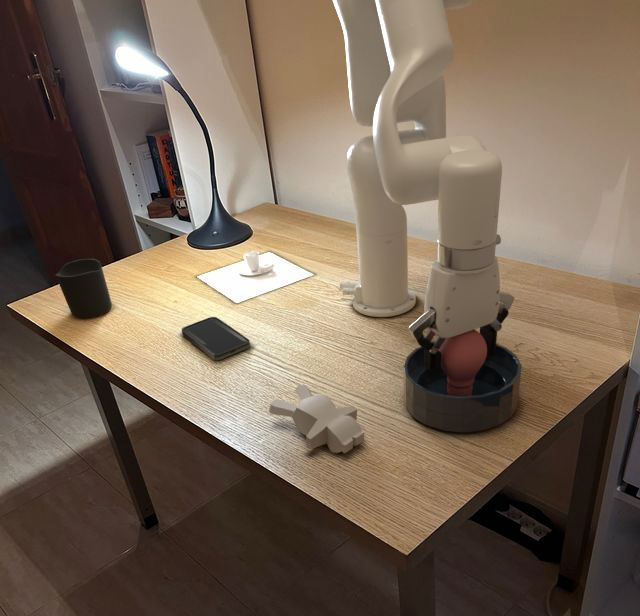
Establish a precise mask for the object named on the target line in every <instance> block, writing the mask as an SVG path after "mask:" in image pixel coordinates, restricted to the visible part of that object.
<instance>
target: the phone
mask: <svg viewBox="0 0 640 616" xmlns="http://www.w3.org/2000/svg"><path fill="white" fill-rule="evenodd" d="M181 334H182V336H183V337H184V338H185V339H187V341H189V342H190V343H192V344H193V345H194V346H196V348H198V349H199V350H200V351H201V352H203V353H204V354H205V355H207V356H208V357H209V358H210V359H212V360H213V361H221V360H224V359H227V358H229V357H231V356H233V355H236V354H239V353H240V352H243V351H245V350H247V349H249V348H251V342H250V339H249V338H248V337H246V336H245V335H243V334H242V333H240V332H239V331H237V330H236V329H234V328H233V327H231V326H230V325H228V324H227V323H226V322H224V321H223V320H221V319H220V318H218V317H216V316H209V317H207V318H204V319H202V320H199V321H197V322H194V323H191V324H189V325H186V326H183V327H182V328H181Z"/></svg>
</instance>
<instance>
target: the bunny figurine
mask: <svg viewBox="0 0 640 616" xmlns="http://www.w3.org/2000/svg"><path fill="white" fill-rule="evenodd" d="M294 390H295V391H294V392H295V394H296V395H297V396H298V398H299V399H300V402H299V404H298V405H296V404H294V403H291V402H288V401H285V400H282V399H274V400H271V402H270V403H269V408H268V412H269V414H271V415H276V416H282V417H289V418H292V420H293V423H294V424H295V427H296V428H297V430H298V431H299V433H301V434H302V435H304V436H305V438H306V440H305V441H306V442H305V443H306V448H307V449H310V450H312V449H315V448H318V447H320V446H324V445H327V447H328V449H329V451H330V452H332V453H335V454H339V453H341V452H342V453H343V454H347V453H348V452H350V451H351V450H353V449H354V448H353V447H356V446H358V445H360V444H361V443H363V442H364V441H365V432H364V431H363V430H362V429H361V427H360V425H359V424H358V422H357V419H358V417H357V416H358V409H357V408H356V407H355V406H354V405H353V406H346V407H345V406H344V407H336V406H335V404H334V402H333V400H331V399H330V398H329V397H328V396H327V395H325V394H322V393H317V394H314V395H313V393H312V391H311V390H310V388H309V386H307V385H306V384H300V385H298V386H296V387H295V389H294Z"/></svg>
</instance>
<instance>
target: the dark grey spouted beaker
mask: <svg viewBox="0 0 640 616" xmlns="http://www.w3.org/2000/svg"><path fill="white" fill-rule="evenodd" d="M55 278H56V281H57V283H58V285H59V287H60V290H61V292H62V294H63V297H64V299H65V302H66V305H67V307H68V308H69V311H70V313H71V315H72V317H74V318H75V319H78V320H90V319H94V318H95V319H96V318H99V317H101V316H104V315H105V314H107V313H109V311H111V309H112V307H113V304H112V299H111V296H110V292H109V287H108V284H107V281H106V277H105V274H104V270H103V266H102V263H101V261H100V260H98V259H95V258H82V259H76V260H72V261H69V262H67V263H65V264H64V265H63V266H62V267H61V268H60V269H59V271H58V273H56V274H55Z"/></svg>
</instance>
